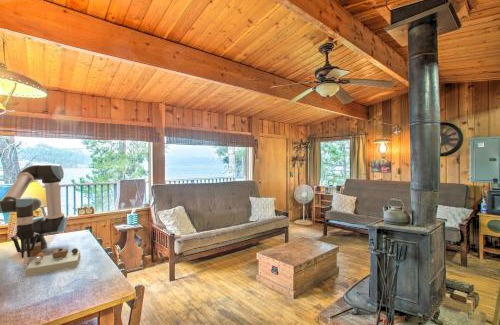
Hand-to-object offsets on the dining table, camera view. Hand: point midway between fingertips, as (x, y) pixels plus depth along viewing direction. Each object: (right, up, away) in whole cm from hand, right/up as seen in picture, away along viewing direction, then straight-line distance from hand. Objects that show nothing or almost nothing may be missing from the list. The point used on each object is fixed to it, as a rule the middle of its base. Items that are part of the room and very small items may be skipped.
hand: (26, 262), depth 155 cm
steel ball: (+5, +1, +3) cm, 6 cm away
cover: (+10, -1, +15) cm, 18 cm away
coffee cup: (-10, -5, +17) cm, 21 cm away
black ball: (+17, +1, +18) cm, 25 cm away
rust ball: (0, +1, +10) cm, 10 cm away
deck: (+11, -5, +8) cm, 15 cm away
